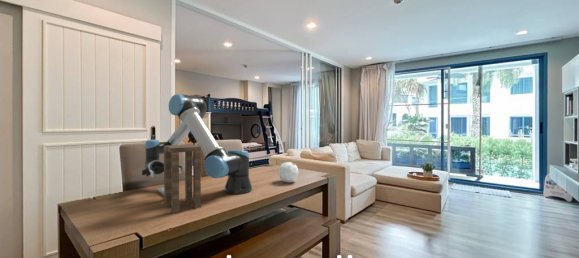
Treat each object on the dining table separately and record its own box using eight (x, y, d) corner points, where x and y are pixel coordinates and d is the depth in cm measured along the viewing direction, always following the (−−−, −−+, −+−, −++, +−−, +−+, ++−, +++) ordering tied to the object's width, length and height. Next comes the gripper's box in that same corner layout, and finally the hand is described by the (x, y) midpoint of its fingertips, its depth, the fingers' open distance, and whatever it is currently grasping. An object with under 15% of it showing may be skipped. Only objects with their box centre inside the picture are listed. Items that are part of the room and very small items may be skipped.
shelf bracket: (158, 191, 140) (158, 173, 140) (164, 190, 142) (164, 173, 141) (169, 200, 125) (169, 180, 125) (175, 198, 127) (175, 179, 127)
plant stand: (164, 205, 116) (163, 145, 115) (190, 200, 124) (190, 144, 123) (173, 213, 106) (172, 148, 105) (200, 207, 114) (200, 146, 113)
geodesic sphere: (306, 172, 167) (294, 155, 169) (301, 176, 154) (288, 158, 156) (289, 183, 170) (278, 167, 172) (283, 188, 157) (271, 170, 159)
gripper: (178, 170, 157) (190, 176, 141) (132, 176, 140) (140, 183, 124) (178, 158, 157) (190, 163, 141) (132, 163, 140) (140, 168, 124)
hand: (167, 172), depth 133 cm, fingers open, 13 cm apart
